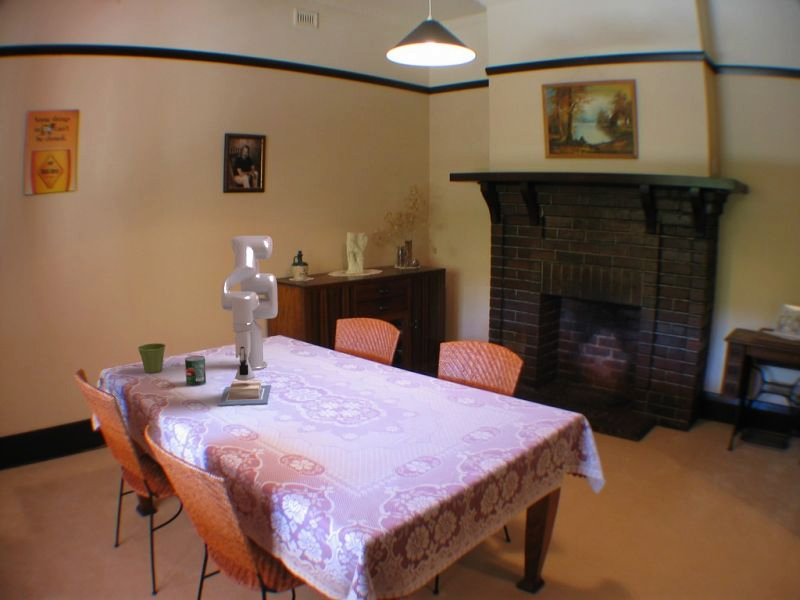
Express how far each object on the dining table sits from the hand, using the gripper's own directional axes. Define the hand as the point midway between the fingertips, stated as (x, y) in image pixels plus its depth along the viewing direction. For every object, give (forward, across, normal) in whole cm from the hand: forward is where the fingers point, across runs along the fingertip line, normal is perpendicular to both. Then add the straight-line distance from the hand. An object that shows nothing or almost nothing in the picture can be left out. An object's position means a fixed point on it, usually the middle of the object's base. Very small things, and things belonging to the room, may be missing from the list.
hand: (244, 372), depth 251 cm
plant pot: (+10, -40, -44) cm, 60 cm away
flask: (+3, 0, 0) cm, 3 cm away
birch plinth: (+10, 0, 0) cm, 10 cm away
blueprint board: (+10, 0, 0) cm, 10 cm away
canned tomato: (+10, -19, -22) cm, 31 cm away
